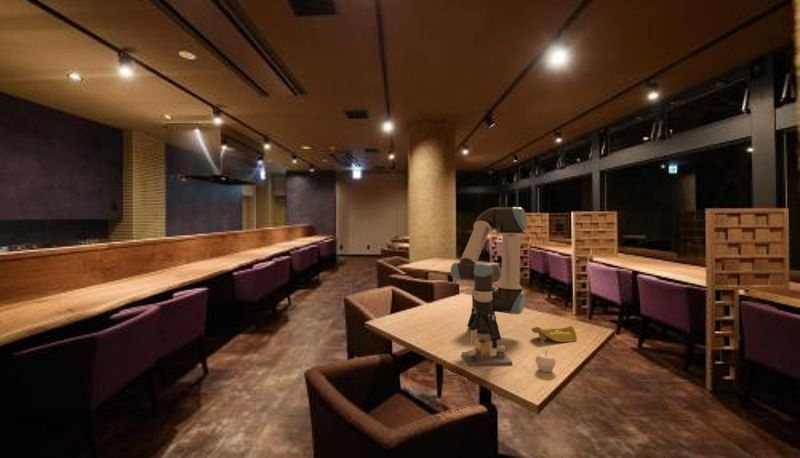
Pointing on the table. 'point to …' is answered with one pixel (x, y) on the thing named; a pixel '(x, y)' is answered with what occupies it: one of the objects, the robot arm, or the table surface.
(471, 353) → the shaft
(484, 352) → the orange rectangular block
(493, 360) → the bolted mounting plate
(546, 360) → the plain white apple
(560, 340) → the plastic component
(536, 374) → the table surface
